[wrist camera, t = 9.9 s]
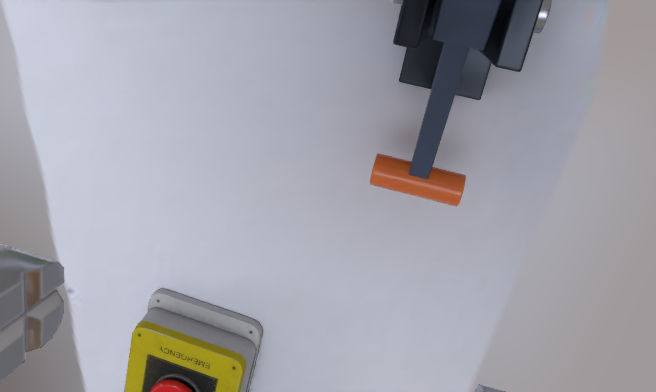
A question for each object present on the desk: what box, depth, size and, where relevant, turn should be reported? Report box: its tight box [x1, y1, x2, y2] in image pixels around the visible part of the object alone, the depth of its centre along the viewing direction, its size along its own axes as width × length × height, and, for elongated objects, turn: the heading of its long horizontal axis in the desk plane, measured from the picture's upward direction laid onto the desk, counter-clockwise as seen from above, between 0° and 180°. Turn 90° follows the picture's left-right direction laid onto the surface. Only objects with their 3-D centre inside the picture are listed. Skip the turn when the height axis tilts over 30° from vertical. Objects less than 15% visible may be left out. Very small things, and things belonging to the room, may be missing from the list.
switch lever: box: [370, 0, 502, 206], centre depth 26 cm, size 13×5×2 cm, turn 168°
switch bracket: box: [393, 0, 551, 100], centre depth 26 cm, size 10×6×13 cm, turn 169°
